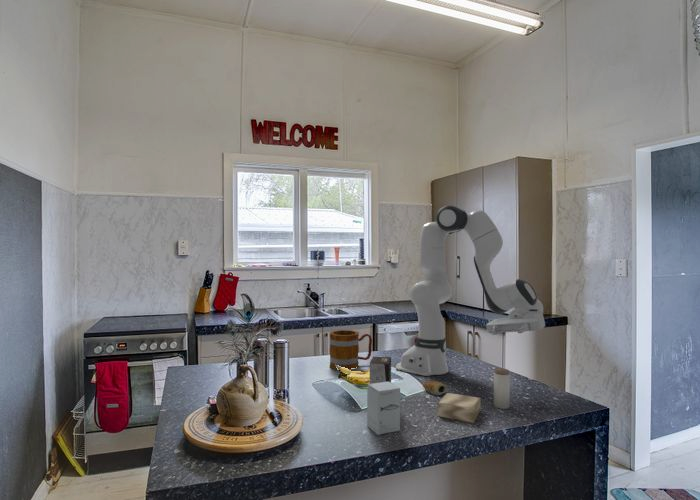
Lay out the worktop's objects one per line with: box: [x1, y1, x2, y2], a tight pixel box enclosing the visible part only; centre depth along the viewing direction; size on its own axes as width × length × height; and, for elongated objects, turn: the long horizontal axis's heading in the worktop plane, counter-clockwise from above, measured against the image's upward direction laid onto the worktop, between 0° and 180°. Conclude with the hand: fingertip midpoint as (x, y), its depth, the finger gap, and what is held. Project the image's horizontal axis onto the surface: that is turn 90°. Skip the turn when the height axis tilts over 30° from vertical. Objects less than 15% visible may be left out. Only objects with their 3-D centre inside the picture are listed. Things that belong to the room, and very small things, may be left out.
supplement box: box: [366, 382, 401, 436], centre depth 125 cm, size 7×7×13 cm
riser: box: [437, 392, 482, 424], centre depth 137 cm, size 11×11×4 cm
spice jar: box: [493, 367, 511, 410], centre depth 143 cm, size 5×5×12 cm
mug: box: [329, 329, 373, 371], centre depth 191 cm, size 20×14×15 cm
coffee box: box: [369, 356, 392, 384], centre depth 141 cm, size 9×6×16 cm
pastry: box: [422, 381, 448, 396], centre depth 158 cm, size 9×7×4 cm
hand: (506, 331), depth 152 cm, fingers open, 8 cm apart
